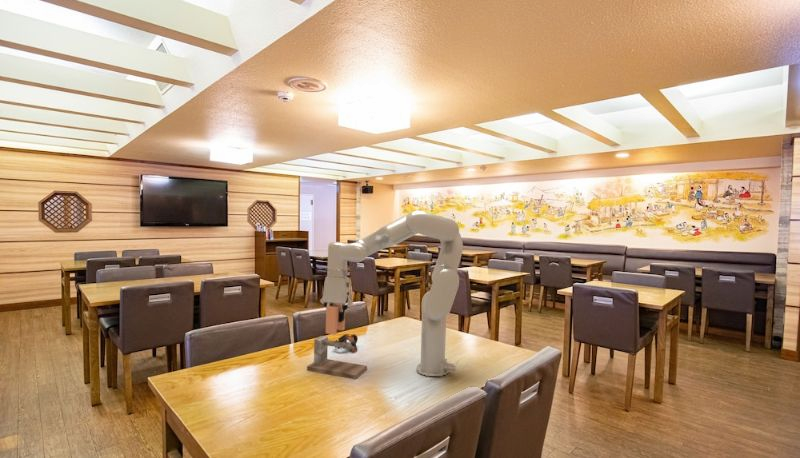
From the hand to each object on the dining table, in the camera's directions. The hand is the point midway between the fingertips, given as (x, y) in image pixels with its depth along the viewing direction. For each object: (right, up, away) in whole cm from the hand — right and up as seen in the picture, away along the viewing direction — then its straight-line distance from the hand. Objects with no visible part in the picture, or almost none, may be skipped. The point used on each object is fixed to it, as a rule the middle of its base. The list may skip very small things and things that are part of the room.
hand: (335, 320), depth 149 cm
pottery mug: (+1, -19, +24) cm, 31 cm away
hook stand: (+1, -19, 0) cm, 19 cm away
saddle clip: (0, -4, 0) cm, 4 cm away
